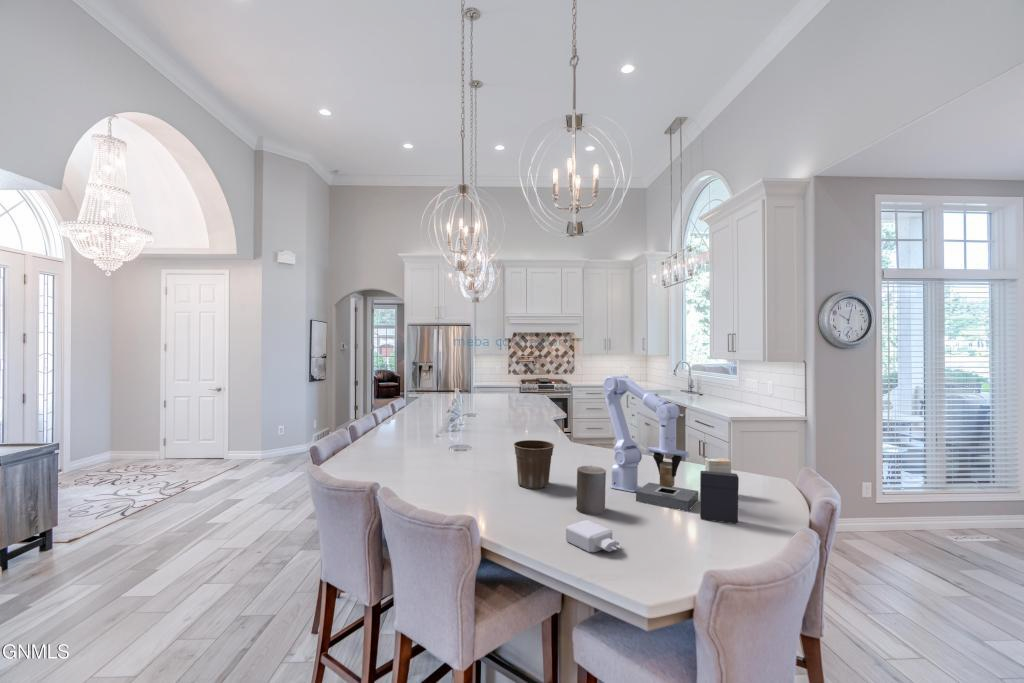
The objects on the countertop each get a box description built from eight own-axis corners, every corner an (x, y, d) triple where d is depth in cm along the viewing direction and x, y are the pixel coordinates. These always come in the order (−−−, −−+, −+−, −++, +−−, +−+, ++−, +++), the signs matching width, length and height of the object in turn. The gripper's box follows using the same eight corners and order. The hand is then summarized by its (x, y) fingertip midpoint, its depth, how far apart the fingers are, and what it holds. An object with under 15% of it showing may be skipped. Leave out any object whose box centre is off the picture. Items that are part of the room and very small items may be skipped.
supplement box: (727, 492, 181) (727, 458, 182) (731, 496, 177) (731, 461, 177) (704, 491, 182) (704, 457, 182) (708, 495, 178) (708, 460, 178)
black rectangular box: (736, 519, 152) (737, 473, 153) (738, 524, 148) (738, 476, 149) (699, 515, 156) (700, 469, 156) (700, 520, 152) (700, 472, 152)
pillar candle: (570, 509, 160) (571, 465, 160) (586, 502, 167) (587, 460, 167) (595, 517, 153) (595, 471, 153) (611, 510, 161) (611, 465, 160)
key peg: (659, 485, 170) (659, 463, 170) (663, 483, 173) (663, 461, 173) (671, 487, 167) (671, 465, 167) (674, 485, 171) (674, 462, 171)
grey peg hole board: (635, 501, 170) (636, 491, 170) (648, 491, 181) (649, 482, 181) (687, 511, 160) (688, 500, 160) (698, 500, 171) (698, 490, 171)
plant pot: (555, 491, 180) (555, 448, 180) (512, 490, 180) (513, 448, 181) (552, 479, 197) (552, 440, 197) (513, 478, 197) (513, 439, 197)
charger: (606, 562, 122) (565, 542, 134) (629, 553, 127) (588, 535, 139) (606, 544, 122) (566, 525, 134) (630, 535, 127) (589, 519, 139)
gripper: (644, 436, 172) (643, 474, 171) (685, 441, 163) (685, 481, 163) (650, 433, 177) (650, 470, 177) (690, 438, 169) (690, 476, 169)
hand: (667, 475), depth 171 cm, fingers closed on key peg, 4 cm apart
